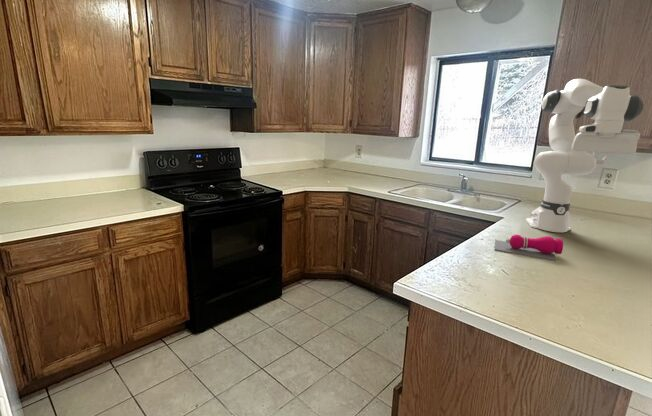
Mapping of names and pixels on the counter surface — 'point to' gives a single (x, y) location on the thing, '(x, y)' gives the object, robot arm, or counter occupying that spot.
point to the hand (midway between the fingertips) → (598, 164)
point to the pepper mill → (537, 244)
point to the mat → (523, 251)
